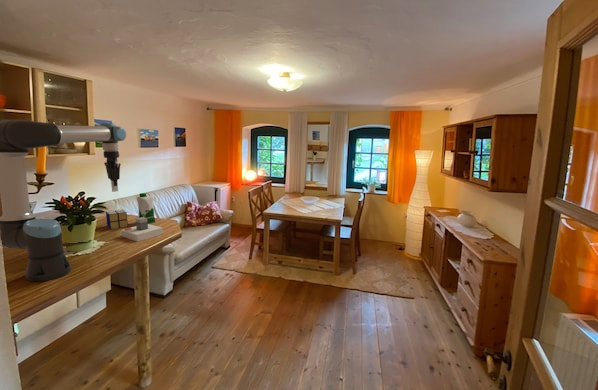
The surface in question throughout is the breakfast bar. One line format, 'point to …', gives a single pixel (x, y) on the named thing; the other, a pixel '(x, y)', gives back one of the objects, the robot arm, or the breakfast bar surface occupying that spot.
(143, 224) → the plug
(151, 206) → the milk carton
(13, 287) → the breakfast bar surface
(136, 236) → the socket plate
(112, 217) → the puzzle cube
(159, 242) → the breakfast bar surface
